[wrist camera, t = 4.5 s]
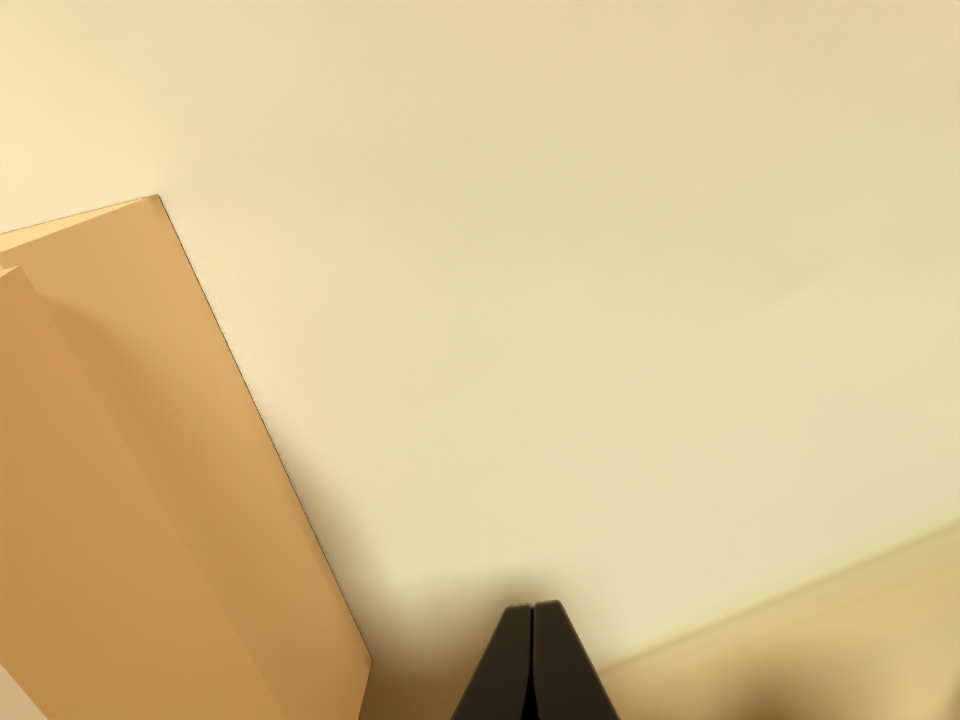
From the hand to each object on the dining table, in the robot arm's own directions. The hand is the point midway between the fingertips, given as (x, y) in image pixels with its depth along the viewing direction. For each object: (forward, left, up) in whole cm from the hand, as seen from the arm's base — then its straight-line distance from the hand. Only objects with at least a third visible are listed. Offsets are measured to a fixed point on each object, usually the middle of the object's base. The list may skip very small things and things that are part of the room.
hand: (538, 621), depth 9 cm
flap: (+5, 0, +1) cm, 5 cm away
